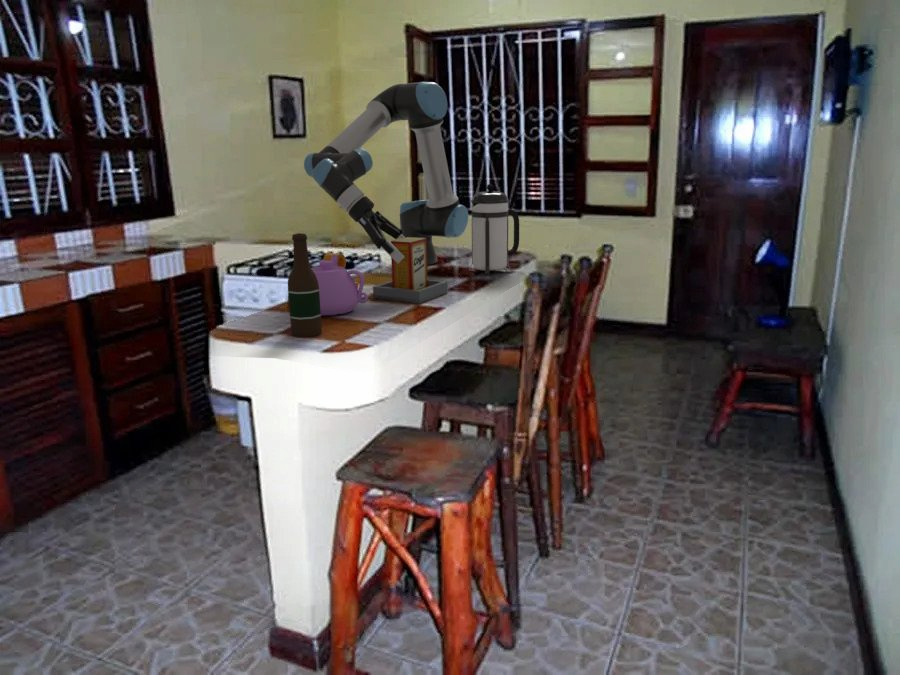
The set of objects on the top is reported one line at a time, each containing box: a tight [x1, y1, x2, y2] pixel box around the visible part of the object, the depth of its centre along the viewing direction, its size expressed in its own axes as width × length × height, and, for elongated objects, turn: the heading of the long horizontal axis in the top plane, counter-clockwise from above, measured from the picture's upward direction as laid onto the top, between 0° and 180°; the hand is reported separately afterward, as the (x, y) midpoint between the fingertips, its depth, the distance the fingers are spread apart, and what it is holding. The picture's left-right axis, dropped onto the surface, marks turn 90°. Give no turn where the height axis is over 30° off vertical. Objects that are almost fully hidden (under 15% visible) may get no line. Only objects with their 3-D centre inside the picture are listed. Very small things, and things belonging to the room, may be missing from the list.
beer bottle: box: [287, 232, 323, 338], centre depth 165 cm, size 8×8×24 cm
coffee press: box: [468, 183, 520, 276], centre depth 240 cm, size 17×16×30 cm
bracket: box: [322, 252, 359, 290], centre depth 212 cm, size 11×7×12 cm, turn 153°
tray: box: [372, 279, 448, 305], centre depth 208 cm, size 16×16×4 cm
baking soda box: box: [390, 237, 428, 290], centre depth 206 cm, size 10×6×16 cm
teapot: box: [287, 255, 369, 316], centre depth 191 cm, size 22×22×14 cm
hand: (407, 256), depth 205 cm, fingers open, 13 cm apart
